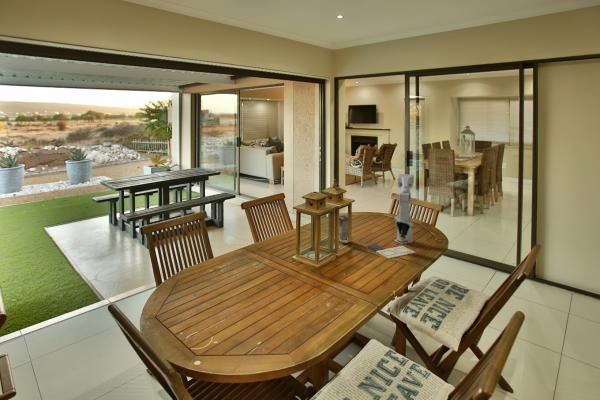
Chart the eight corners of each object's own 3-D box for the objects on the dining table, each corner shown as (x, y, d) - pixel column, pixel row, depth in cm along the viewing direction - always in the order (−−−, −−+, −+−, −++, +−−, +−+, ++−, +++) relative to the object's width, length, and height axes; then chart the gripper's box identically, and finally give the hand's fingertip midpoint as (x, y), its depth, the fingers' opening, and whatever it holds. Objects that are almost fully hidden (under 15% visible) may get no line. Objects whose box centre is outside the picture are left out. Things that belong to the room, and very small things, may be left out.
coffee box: (335, 239, 240) (336, 216, 236) (344, 238, 242) (345, 215, 238) (341, 244, 232) (341, 220, 228) (350, 242, 233) (350, 219, 230)
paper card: (402, 246, 226) (402, 245, 225) (415, 252, 215) (415, 252, 215) (375, 251, 218) (375, 250, 218) (388, 258, 207) (388, 257, 207)
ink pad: (376, 245, 228) (376, 243, 227) (383, 249, 222) (383, 247, 221) (367, 247, 225) (367, 245, 225) (373, 251, 219) (373, 248, 218)
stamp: (404, 240, 219) (405, 228, 218) (407, 242, 216) (409, 230, 214) (396, 240, 218) (397, 229, 216) (400, 242, 214) (401, 231, 213)
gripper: (390, 210, 218) (389, 232, 221) (407, 216, 205) (405, 239, 208) (400, 209, 220) (399, 230, 224) (416, 215, 208) (415, 237, 211)
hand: (402, 234), depth 216 cm, fingers closed on stamp, 3 cm apart
